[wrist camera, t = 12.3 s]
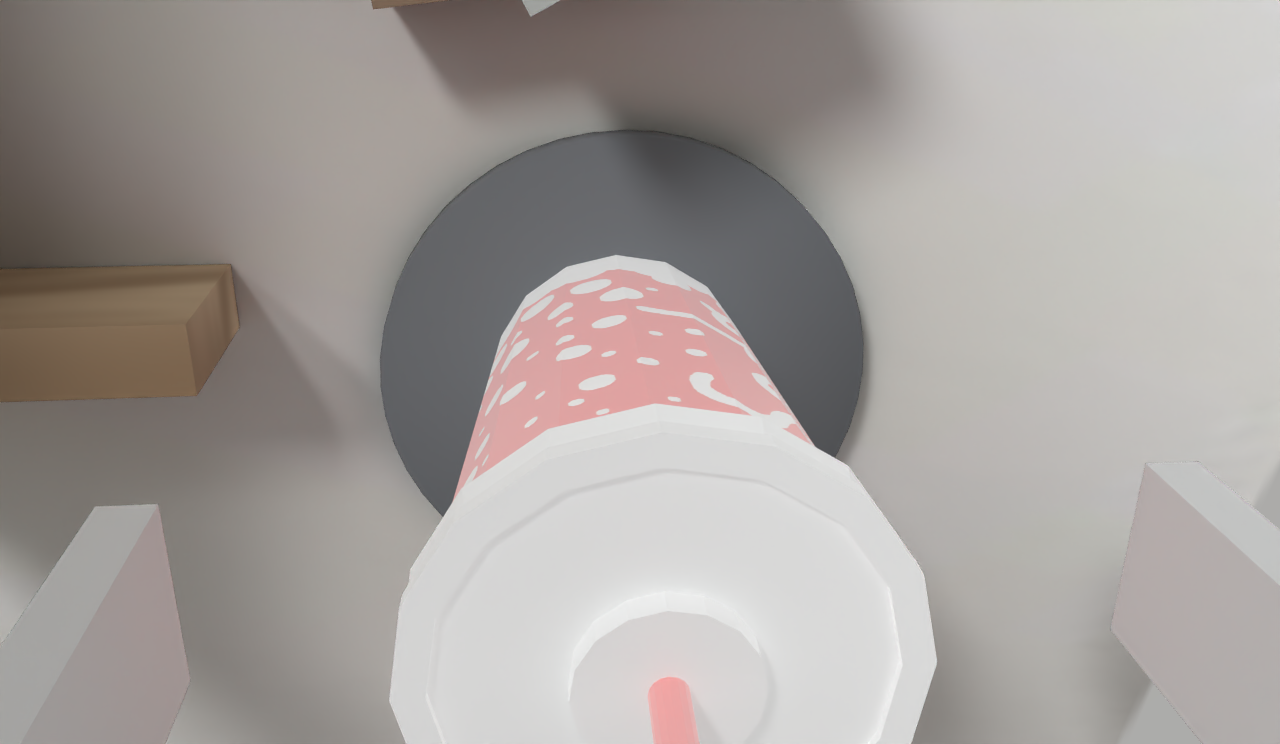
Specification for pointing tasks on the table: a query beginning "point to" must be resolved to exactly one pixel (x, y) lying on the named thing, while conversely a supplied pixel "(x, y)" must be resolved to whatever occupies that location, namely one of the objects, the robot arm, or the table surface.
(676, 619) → the beverage cup
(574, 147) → the coaster
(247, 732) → the table surface
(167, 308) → the rack
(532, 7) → the offcut upper
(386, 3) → the offcut lower
